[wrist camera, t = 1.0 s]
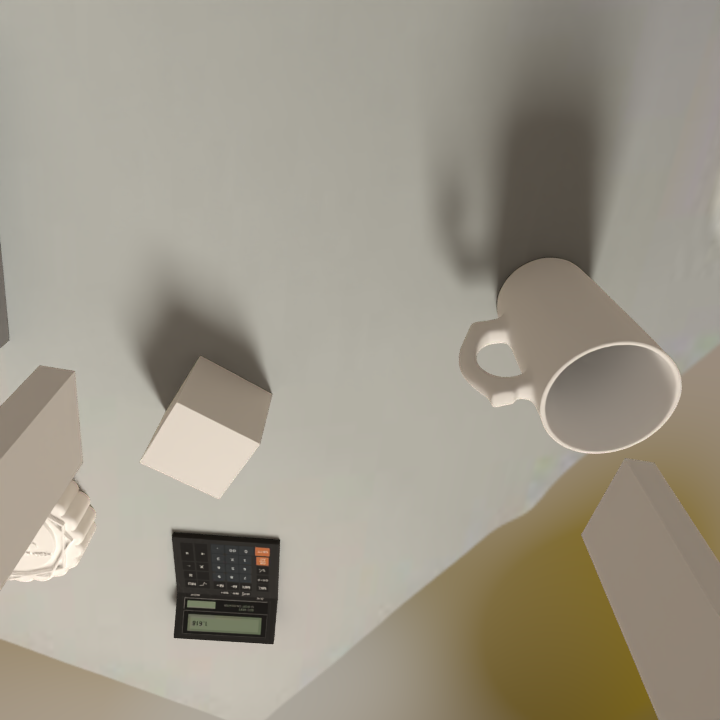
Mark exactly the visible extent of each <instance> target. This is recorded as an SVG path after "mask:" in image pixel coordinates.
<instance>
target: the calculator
mask: <svg viewBox="0 0 720 720" xmlns="http://www.w3.org/2000/svg"><path fill="white" fill-rule="evenodd" d="M172 542H173V552H174V562H175V572H176V582H177V592H178V593H177V604H176V616H175V628H174V638H183V639H198V640H214V641H230V642H246V643H262V644H273V643H274V636H275V624H276V613H277V601H278V579H279V553H280V540H273V539H260V538H246V537H232V536H218V535H204V534H190V533H176V532H174V533H173V536H172Z"/></svg>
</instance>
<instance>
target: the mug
mask: <svg viewBox="0 0 720 720" xmlns="http://www.w3.org/2000/svg"><path fill="white" fill-rule="evenodd" d="M497 312H498V317H499V318H497V319H493V320H489V321H480V322H475V323H473V324H472V325H471V326H470V328H469V331H468V333H467V335H466V337H465V339H464V342H463V344H462V346H461V349H460V353H459V366H460V370H461V372H462V375H463V376H464V378H465V379H466V380H467V381H468V383H469V384H470V385H472V386H473V387H474V388H475V389H476V390H477V391H478V392H480V393H481V394H482V395H483V396H485V397H486V398H487V399H488V400H489V401H490V402H491V404H492V406H493V407H499V406H504V405H509V404H513V403H514V402H515V401H516V400H517V399H528V400H530V401H532V402H533V403H534V405H535V406H536V409H537V411H538V413H539V415H540V417H541V421H542V424H543V426H544V428H545V430H546V431H547V433H548V434H549V435H550V436H551V437H552V438H553V439H554V440H555V441H556V442H558V443H559V444H561V445H562V446H564V447H566V448H568V449H571V450H574V451H578V452H583V453H608V452H614V451H618V450H622V449H625V448H628V447H631V446H633V445H635V444H637V443H639V442H641V441H643V440H645V439H646V438H648V437H649V436H650V435H652V434H653V433H655V432H656V431H657V430H658V429H659V428H660V427H662V425H664V423H665V422H666V421H667V420H668V419H669V417H670V416H671V415H672V413H673V411H674V410H675V408H676V406H677V404H678V401H679V399H680V395H681V389H682V382H681V376H680V372H679V370H678V368H677V366H676V364H675V362H674V361H673V360H672V359H671V357H670V356H669V355H668V354H666V353H665V352H664V351H663V350H662V349H661V348H660V346H659V345H658V344H657V343H656V342H655V341H654V340H653V339H652V338H651V337H650V336H649V335H648V334H647V333H646V332H645V331H644V330H643V329H642V328H641V327H640V326H639V325H638V324H637V323H636V322H635V321H634V320H633V319H632V318H631V317H630V316H629V315H628V314H627V313H626V312H625V311H624V310H622V309H621V308H620V307H619V306H618V305H617V304H616V303H615V302H614V301H613V300H612V299H611V298H610V297H609V296H608V295H607V294H606V293H605V292H604V291H603V290H602V289H601V288H600V287H599V286H598V285H597V284H596V283H595V282H594V281H593V280H592V279H591V278H590V277H589V276H588V275H586V274H585V273H584V272H583V271H582V270H581V269H580V268H579V267H578V266H576V265H575V264H573V263H571V262H569V261H567V260H564V259H560V258H542V259H537V260H534V261H531V262H529V263H527V264H525V265H523V266H521V267H520V268H518V269H517V270H516V271H514V272H513V273H512V274H511V275H510V276H509V277H508V279H507V280H506V281H505V283H504V284H503V286H502V288H501V290H500V293H499V296H498V301H497ZM495 343H506V344H508V345H509V346H510V347H511V349H512V352H513V354H514V356H515V359H516V361H517V363H518V366H519V368H520V371H521V373H522V374H520V375H518V376H513V377H499V376H495V375H492V374H490V373H487V372H486V371H484V370H483V369H482V368H481V367H480V366H479V365H478V363H477V360H476V358H477V354H478V352H479V351H480V350H481V349H482V348H483V347H485V346H487V345H490V344H495Z"/></svg>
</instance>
